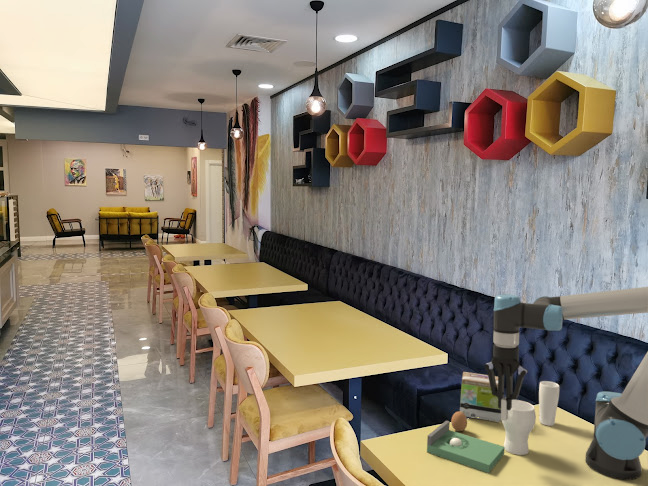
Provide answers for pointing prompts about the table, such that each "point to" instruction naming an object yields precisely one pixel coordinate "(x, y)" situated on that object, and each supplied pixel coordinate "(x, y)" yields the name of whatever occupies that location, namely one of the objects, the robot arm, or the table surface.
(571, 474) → the table surface
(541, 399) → the drinking glass
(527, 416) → the cup
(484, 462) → the green
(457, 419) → the egg
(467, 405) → the tea box
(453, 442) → the ball
